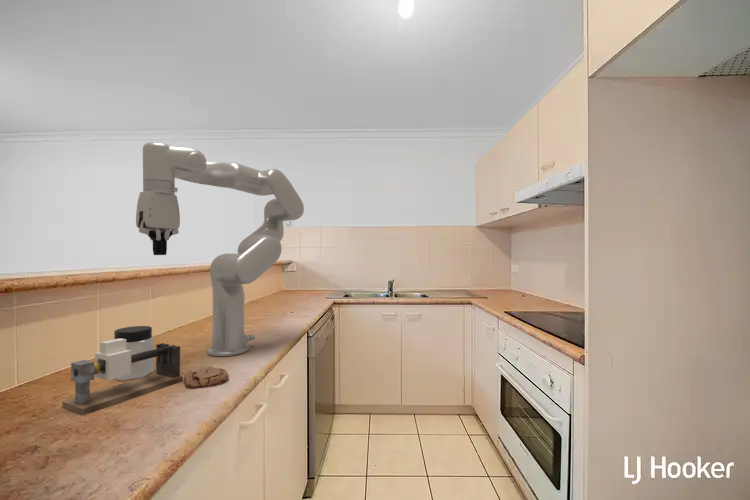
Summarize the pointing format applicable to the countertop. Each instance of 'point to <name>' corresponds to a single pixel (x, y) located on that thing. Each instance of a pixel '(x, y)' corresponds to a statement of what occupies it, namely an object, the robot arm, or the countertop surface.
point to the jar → (137, 349)
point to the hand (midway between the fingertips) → (159, 254)
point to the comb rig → (109, 396)
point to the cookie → (206, 377)
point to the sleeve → (114, 359)
